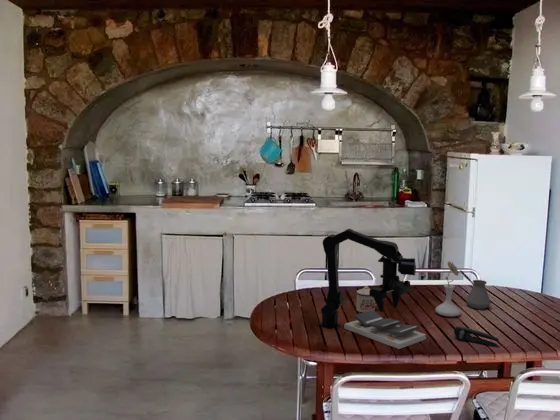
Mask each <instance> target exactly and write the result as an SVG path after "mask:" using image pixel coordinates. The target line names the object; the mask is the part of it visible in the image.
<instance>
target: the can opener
mask: <svg viewBox="0 0 560 420" xmlns="http://www.w3.org/2000/svg"><path fill="white" fill-rule="evenodd" d="M453 333H454V335H455V337H456V339H458V340H460V341H462V342H463V341H474V342H478V343H480V344H482V345H485V344H486V346H488V345H491V346H490V347H493V346H497V347H499V345H498V344H497V343H496V342H499V341H500V339H499V338H498V337H496V336H493V335H491V334H489V333H485V332H483V331H480V330H475V329H473V328H472V327H462V326H455V327H454V328H453ZM491 340H492V341H491ZM493 341H495V342H493Z"/></svg>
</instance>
